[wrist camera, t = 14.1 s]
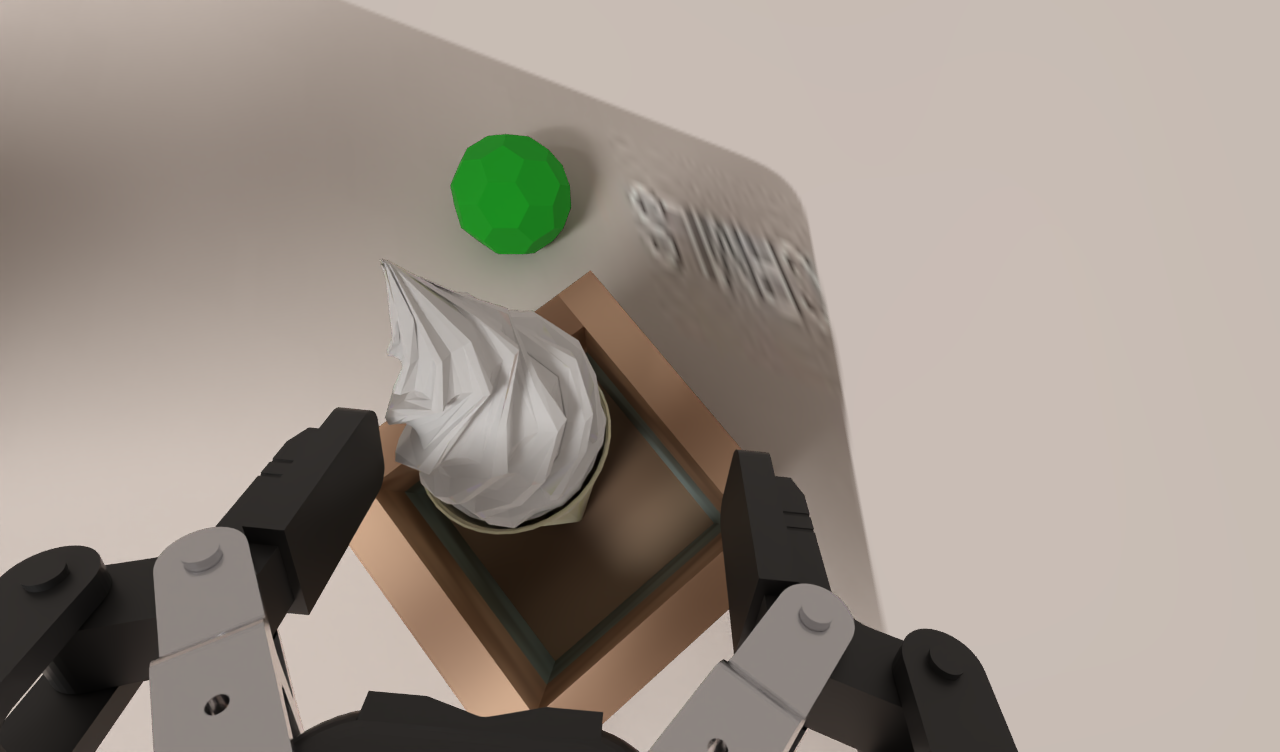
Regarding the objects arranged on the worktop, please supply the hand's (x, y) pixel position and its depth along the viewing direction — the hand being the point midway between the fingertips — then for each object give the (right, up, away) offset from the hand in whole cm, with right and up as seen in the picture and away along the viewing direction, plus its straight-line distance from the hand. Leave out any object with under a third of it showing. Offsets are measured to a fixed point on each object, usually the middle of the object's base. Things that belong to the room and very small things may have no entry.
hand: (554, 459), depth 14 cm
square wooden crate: (-1, -4, +12) cm, 13 cm away
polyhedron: (-4, +9, +15) cm, 18 cm away
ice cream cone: (0, -3, +9) cm, 10 cm away
